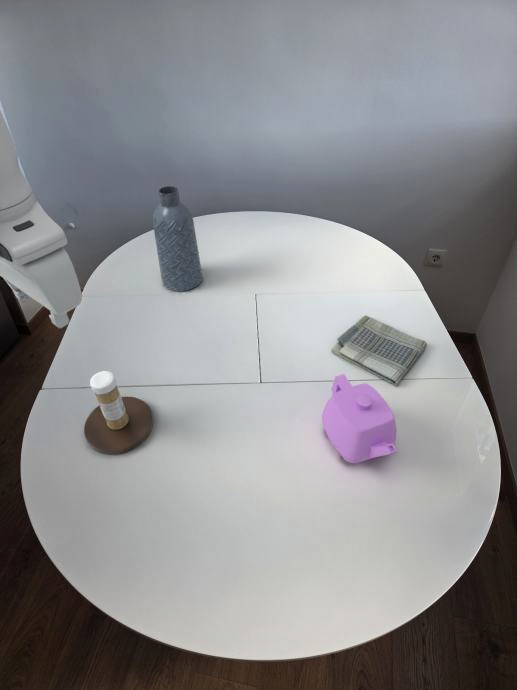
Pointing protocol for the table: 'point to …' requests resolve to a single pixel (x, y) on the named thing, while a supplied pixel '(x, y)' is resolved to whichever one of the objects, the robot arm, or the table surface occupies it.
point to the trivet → (122, 438)
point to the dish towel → (379, 349)
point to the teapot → (359, 421)
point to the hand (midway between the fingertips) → (43, 310)
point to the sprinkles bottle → (109, 399)
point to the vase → (176, 242)
